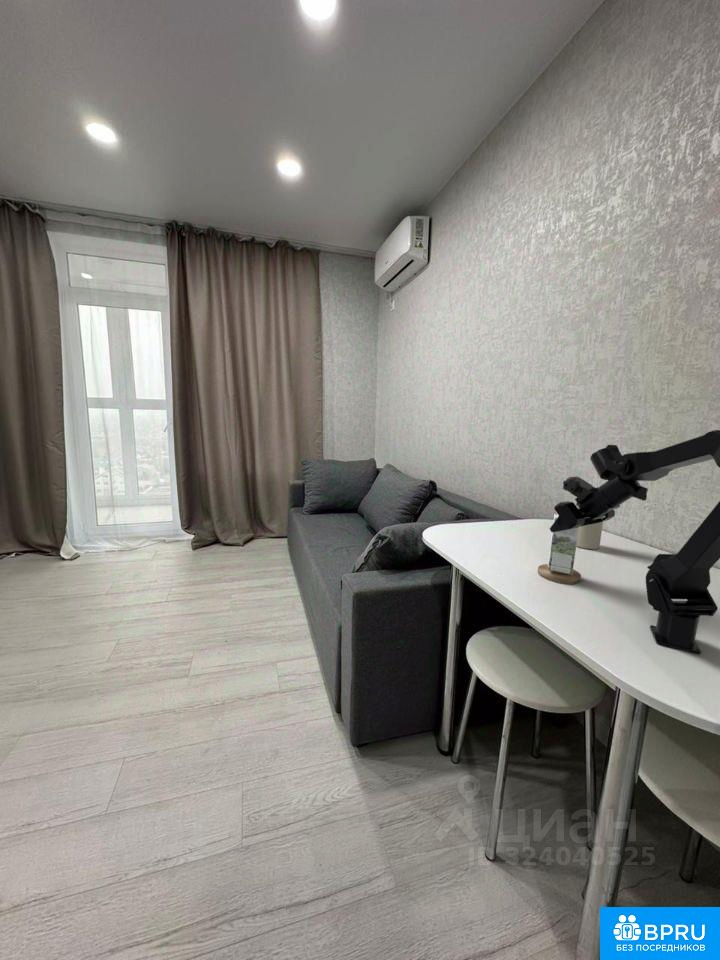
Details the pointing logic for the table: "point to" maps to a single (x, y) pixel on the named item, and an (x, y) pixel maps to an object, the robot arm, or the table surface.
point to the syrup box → (562, 550)
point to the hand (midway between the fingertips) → (559, 528)
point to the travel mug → (589, 535)
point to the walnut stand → (559, 575)
